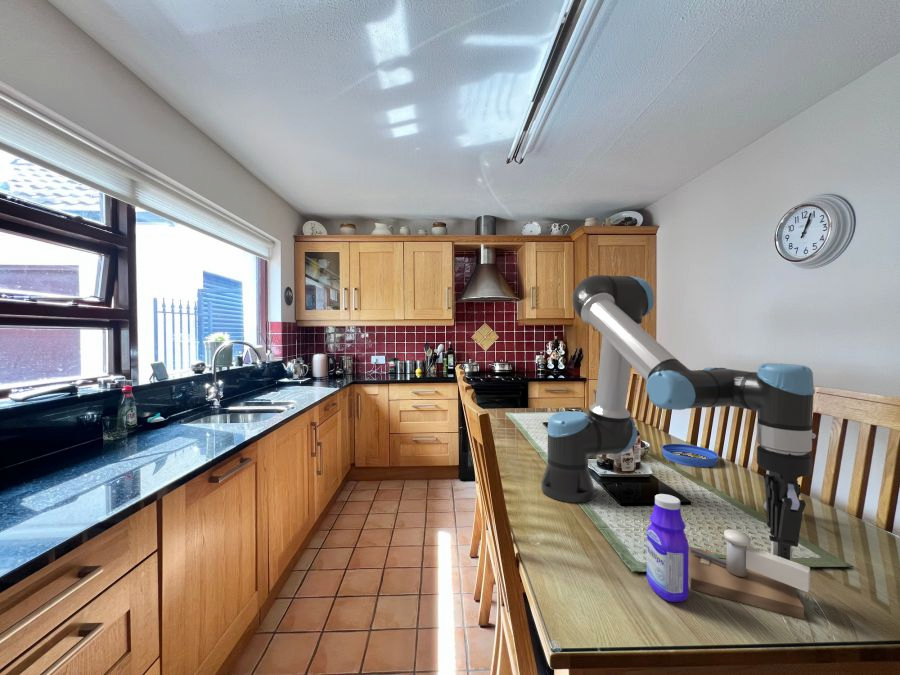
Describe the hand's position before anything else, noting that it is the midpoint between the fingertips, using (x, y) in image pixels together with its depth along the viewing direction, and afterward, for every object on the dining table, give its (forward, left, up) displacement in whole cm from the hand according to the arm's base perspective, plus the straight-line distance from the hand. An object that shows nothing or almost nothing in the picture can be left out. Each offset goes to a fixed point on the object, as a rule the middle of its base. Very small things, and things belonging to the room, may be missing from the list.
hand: (780, 574), depth 69 cm
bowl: (-7, +77, -4) cm, 78 cm away
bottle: (-19, -9, -4) cm, 21 cm away
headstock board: (-7, -1, -3) cm, 7 cm away
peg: (-6, -1, -1) cm, 6 cm away
